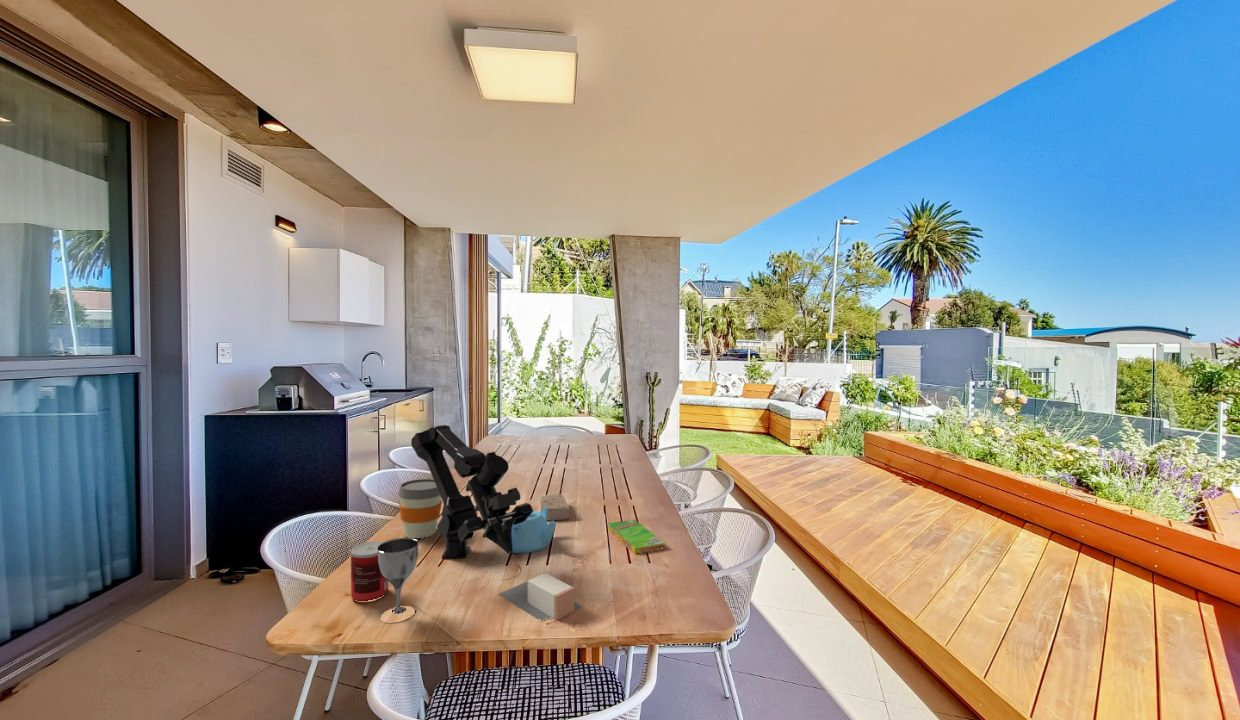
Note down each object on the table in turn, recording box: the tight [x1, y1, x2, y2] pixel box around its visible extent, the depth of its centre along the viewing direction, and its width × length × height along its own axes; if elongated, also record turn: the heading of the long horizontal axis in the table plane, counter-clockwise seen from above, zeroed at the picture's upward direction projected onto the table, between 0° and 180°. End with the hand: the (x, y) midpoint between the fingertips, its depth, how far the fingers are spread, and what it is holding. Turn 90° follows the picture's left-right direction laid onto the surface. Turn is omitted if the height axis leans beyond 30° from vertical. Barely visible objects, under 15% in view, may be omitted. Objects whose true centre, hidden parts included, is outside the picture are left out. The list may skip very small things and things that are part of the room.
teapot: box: [511, 507, 557, 555], centre depth 142 cm, size 15×15×11 cm
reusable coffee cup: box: [398, 478, 443, 539], centre depth 149 cm, size 12×12×15 cm
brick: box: [539, 493, 571, 522], centre depth 170 cm, size 17×8×5 cm, turn 15°
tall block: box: [527, 572, 576, 621], centre depth 107 cm, size 5×5×10 cm
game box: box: [607, 519, 666, 555], centre depth 148 cm, size 3×10×20 cm
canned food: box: [350, 540, 389, 601], centre depth 113 cm, size 8×8×11 cm
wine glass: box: [377, 537, 419, 614], centre depth 105 cm, size 8×8×15 cm
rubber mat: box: [498, 580, 584, 622], centre depth 110 cm, size 18×10×1 cm, turn 47°
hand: (510, 552), depth 118 cm, fingers closed
